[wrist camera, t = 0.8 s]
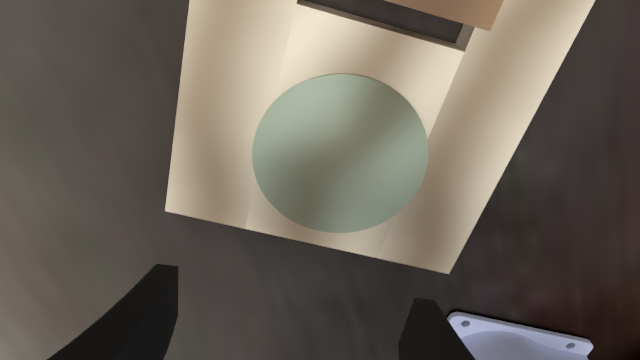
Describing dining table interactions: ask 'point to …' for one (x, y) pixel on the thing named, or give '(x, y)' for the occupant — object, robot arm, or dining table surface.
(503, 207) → the dining table surface
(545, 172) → the dining table surface
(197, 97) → the board
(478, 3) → the block
